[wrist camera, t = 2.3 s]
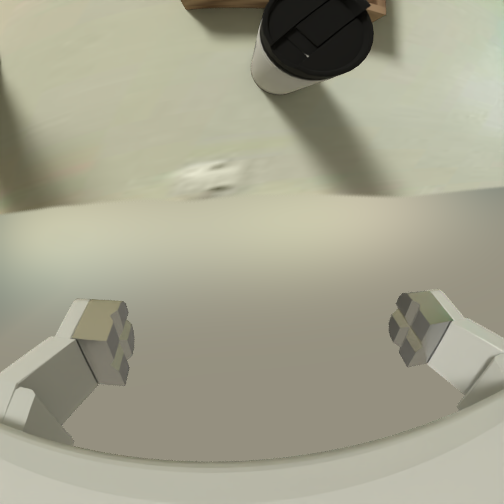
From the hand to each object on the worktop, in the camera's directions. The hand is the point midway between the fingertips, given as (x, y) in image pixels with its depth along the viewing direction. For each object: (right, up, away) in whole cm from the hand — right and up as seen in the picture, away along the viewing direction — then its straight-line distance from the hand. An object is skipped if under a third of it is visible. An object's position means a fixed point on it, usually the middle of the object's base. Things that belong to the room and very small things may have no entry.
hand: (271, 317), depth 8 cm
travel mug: (+3, +23, +21) cm, 31 cm away
